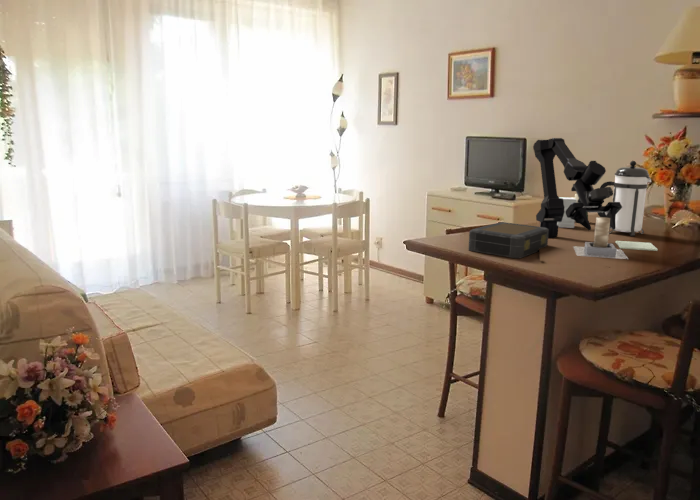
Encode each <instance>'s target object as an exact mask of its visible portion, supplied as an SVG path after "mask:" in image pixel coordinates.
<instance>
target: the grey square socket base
mask: <svg viewBox="0 0 700 500" xmlns="http://www.w3.org/2000/svg"><path fill="white" fill-rule="evenodd" d="M593 244H594V241H593V242H592V241H585V242H584V246H574V245H573V246H572V248H573V250H574V253H575V255H576V256H578V257H579V256H580V257H590V258H591V257H593V258H605V259H607V258H608V259H619V260H629V257H628V256H627V255H626V253H625V252H624V251H623V250H622V248H619V249H618V248H616V246H615V245H614V243H609V242H608V244H607V247H593Z"/></svg>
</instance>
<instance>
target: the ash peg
mask: <svg viewBox="0 0 700 500" xmlns="http://www.w3.org/2000/svg"><path fill="white" fill-rule="evenodd" d="M609 227H610V218H607V217H600V216H597V217H595V227H594V237H593V242H594V244H593V247H607V244H608V243H609V242H608V241H609V232H610V230H609Z"/></svg>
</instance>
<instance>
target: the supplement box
mask: <svg viewBox="0 0 700 500" xmlns="http://www.w3.org/2000/svg"><path fill="white" fill-rule="evenodd" d="M558 197H559V198H562V199H563V202H564V211H565V212H564V215H563V218H562V221H561V222H557V225H558V228H564V229H567V228H568V229H574V228H575V223H576V221H575V220H573V219H571V218H568V217H567V216H566V210H567V209H568V207H569V206H570V205H571V203H572V202H577V199H575V198H571V197H567V196H566V197H565V196H564V197H562V196H561V197H560V196H558Z"/></svg>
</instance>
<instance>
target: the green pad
mask: <svg viewBox="0 0 700 500" xmlns="http://www.w3.org/2000/svg"><path fill="white" fill-rule="evenodd" d="M615 244H616V245H617V246H618V248H619V249H621V250H622V249H624V250H625V249H626V250H638V251H653V252H654V251H656V252H658V248H657V247H656V246H655V245H653V243H652V242H642V241H629V240H627V241H626V240H624V241H623V240H615Z"/></svg>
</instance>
